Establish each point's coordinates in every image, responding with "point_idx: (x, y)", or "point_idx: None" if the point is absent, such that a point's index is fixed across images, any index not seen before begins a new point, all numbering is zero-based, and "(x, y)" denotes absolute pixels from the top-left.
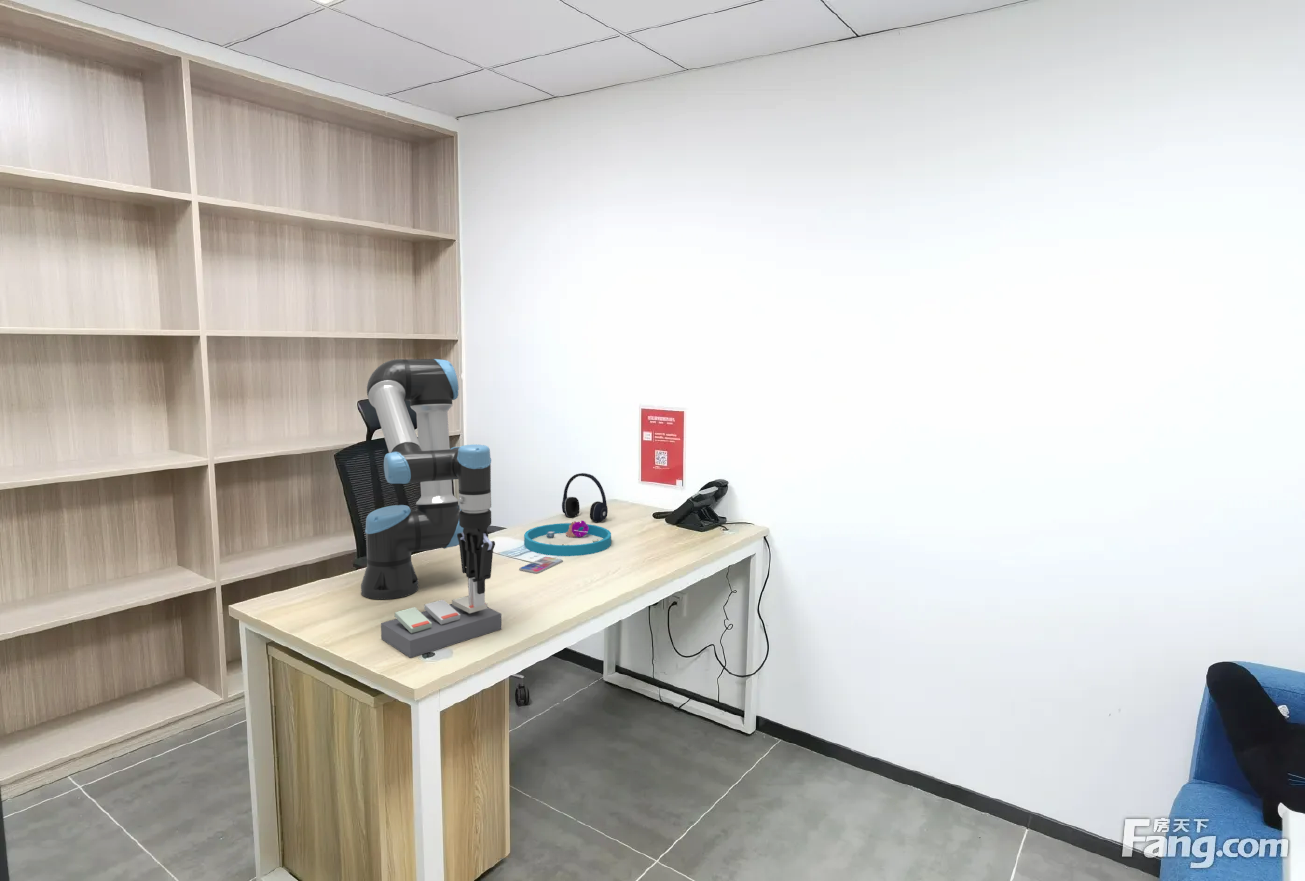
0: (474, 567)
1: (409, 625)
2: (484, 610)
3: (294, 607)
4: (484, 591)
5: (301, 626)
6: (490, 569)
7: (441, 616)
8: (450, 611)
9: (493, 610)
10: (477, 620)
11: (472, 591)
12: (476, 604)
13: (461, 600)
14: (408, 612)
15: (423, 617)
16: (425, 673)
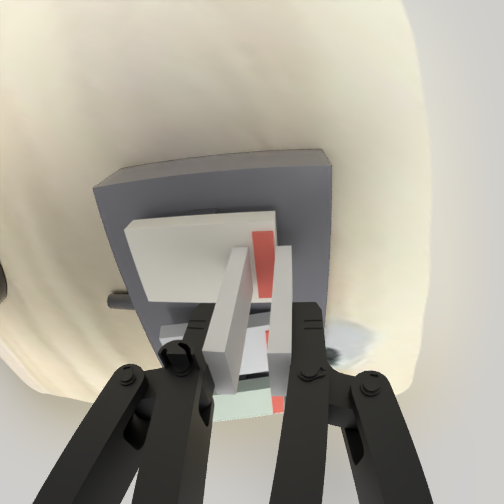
0: (197, 430)
1: (269, 413)
2: (248, 202)
3: (31, 367)
4: (320, 310)
5: (93, 395)
6: (408, 440)
7: (264, 365)
8: (246, 341)
9: (274, 172)
10: (327, 272)
11: (243, 325)
12: (292, 291)
13: (169, 281)
14: None
15: (248, 394)
16: (387, 377)
